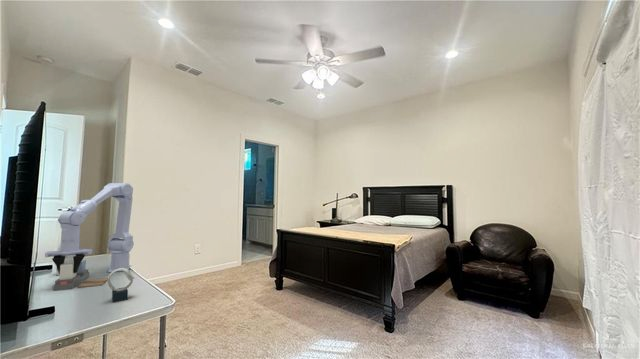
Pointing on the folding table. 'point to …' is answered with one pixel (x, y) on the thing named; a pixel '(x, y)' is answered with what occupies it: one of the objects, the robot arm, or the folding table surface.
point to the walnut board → (93, 282)
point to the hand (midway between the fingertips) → (68, 273)
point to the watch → (120, 293)
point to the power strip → (71, 281)
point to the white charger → (67, 271)
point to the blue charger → (82, 266)
